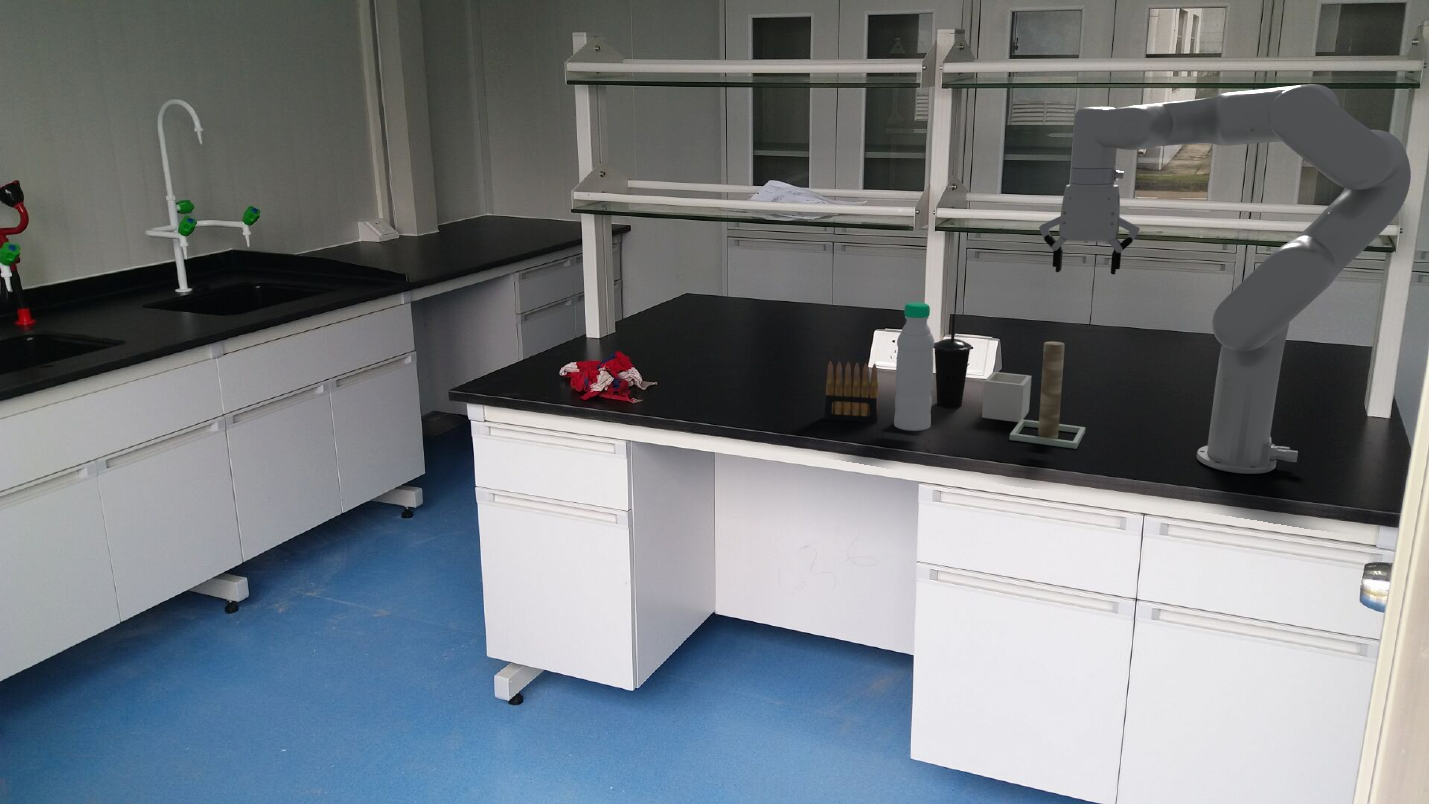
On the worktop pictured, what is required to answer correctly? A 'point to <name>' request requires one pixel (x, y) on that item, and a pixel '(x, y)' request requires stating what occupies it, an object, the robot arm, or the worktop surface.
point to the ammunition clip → (851, 395)
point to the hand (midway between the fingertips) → (1085, 272)
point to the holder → (1006, 396)
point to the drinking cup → (951, 369)
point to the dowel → (1051, 389)
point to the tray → (1047, 441)
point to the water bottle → (914, 370)
